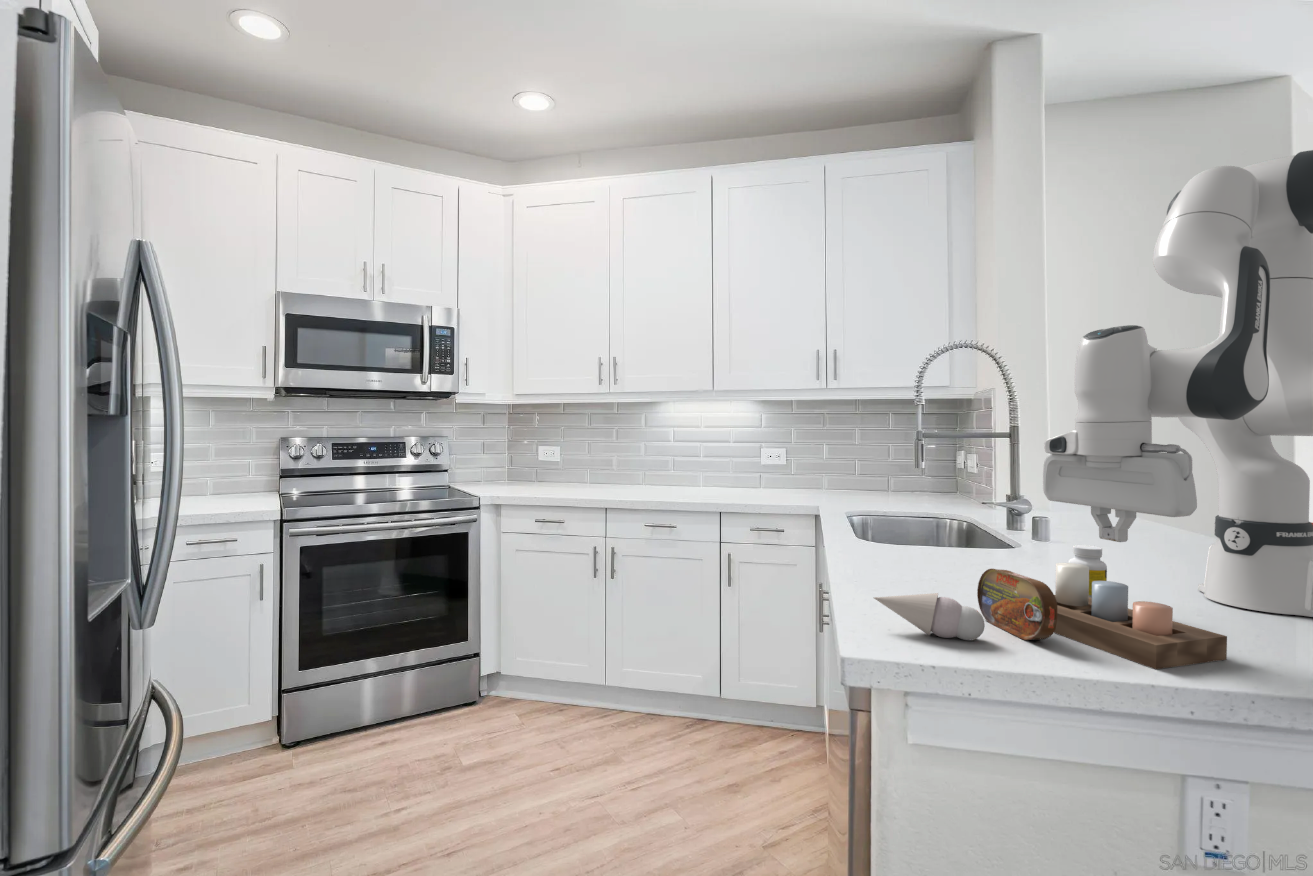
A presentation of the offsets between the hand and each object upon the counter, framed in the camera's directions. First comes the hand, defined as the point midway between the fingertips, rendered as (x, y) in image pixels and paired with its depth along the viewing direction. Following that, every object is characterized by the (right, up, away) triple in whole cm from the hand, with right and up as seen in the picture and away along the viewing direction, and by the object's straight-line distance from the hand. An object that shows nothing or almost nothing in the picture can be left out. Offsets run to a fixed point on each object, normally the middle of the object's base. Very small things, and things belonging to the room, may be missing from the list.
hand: (1113, 540), depth 92 cm
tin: (-12, -14, +3) cm, 19 cm away
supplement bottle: (+6, -14, +16) cm, 22 cm away
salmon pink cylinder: (+1, -13, -6) cm, 14 cm away
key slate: (-1, -12, 0) cm, 12 cm away
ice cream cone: (-26, -14, +1) cm, 29 cm away
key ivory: (-2, -10, +6) cm, 12 cm away
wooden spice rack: (-1, -14, 0) cm, 14 cm away
